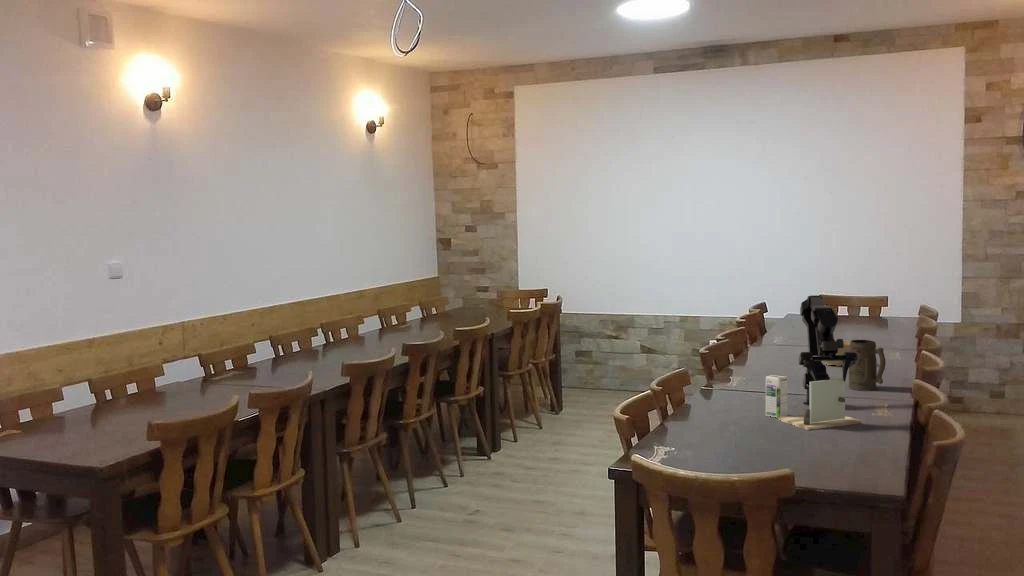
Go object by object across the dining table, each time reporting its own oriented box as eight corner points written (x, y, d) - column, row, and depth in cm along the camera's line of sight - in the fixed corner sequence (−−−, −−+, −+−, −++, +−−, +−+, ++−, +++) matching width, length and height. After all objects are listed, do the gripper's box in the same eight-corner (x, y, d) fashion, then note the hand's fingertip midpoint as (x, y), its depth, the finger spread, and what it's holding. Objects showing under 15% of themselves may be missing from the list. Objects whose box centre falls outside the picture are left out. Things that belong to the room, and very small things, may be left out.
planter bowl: (810, 363, 402) (810, 341, 402) (838, 361, 407) (838, 339, 406) (832, 369, 387) (832, 345, 386) (861, 366, 392) (861, 343, 391)
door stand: (777, 419, 296) (777, 403, 295) (829, 413, 302) (829, 397, 302) (807, 430, 280) (807, 412, 280) (860, 423, 287) (860, 406, 287)
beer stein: (841, 388, 345) (845, 340, 342) (854, 384, 352) (857, 337, 349) (878, 395, 333) (882, 346, 331) (890, 391, 341) (894, 343, 338)
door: (809, 422, 285) (809, 381, 284) (842, 417, 290) (843, 378, 289) (814, 423, 283) (814, 383, 282) (848, 419, 287) (848, 379, 286)
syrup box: (764, 416, 302) (764, 376, 300) (774, 413, 305) (773, 374, 304) (778, 418, 297) (778, 378, 296) (788, 415, 301) (787, 376, 300)
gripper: (800, 330, 288) (805, 372, 281) (857, 329, 285) (863, 372, 278) (796, 343, 298) (800, 384, 291) (851, 343, 295) (857, 384, 287)
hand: (830, 381), depth 286 cm, fingers open, 9 cm apart
